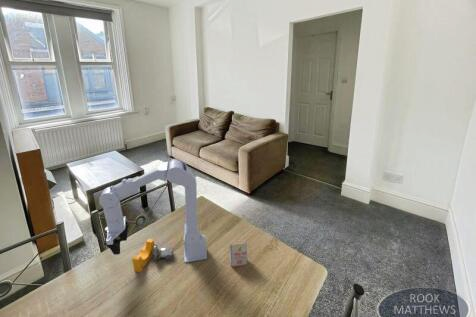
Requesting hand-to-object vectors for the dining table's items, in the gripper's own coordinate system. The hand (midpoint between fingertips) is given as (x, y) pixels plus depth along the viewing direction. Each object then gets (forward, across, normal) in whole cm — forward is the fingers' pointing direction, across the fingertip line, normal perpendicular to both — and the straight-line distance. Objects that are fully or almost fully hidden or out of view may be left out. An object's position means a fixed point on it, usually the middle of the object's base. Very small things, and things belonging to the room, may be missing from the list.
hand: (120, 246), depth 95 cm
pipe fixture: (+10, -4, +16) cm, 19 cm away
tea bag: (+10, +2, +47) cm, 48 cm away
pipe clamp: (+10, -3, +7) cm, 13 cm away
